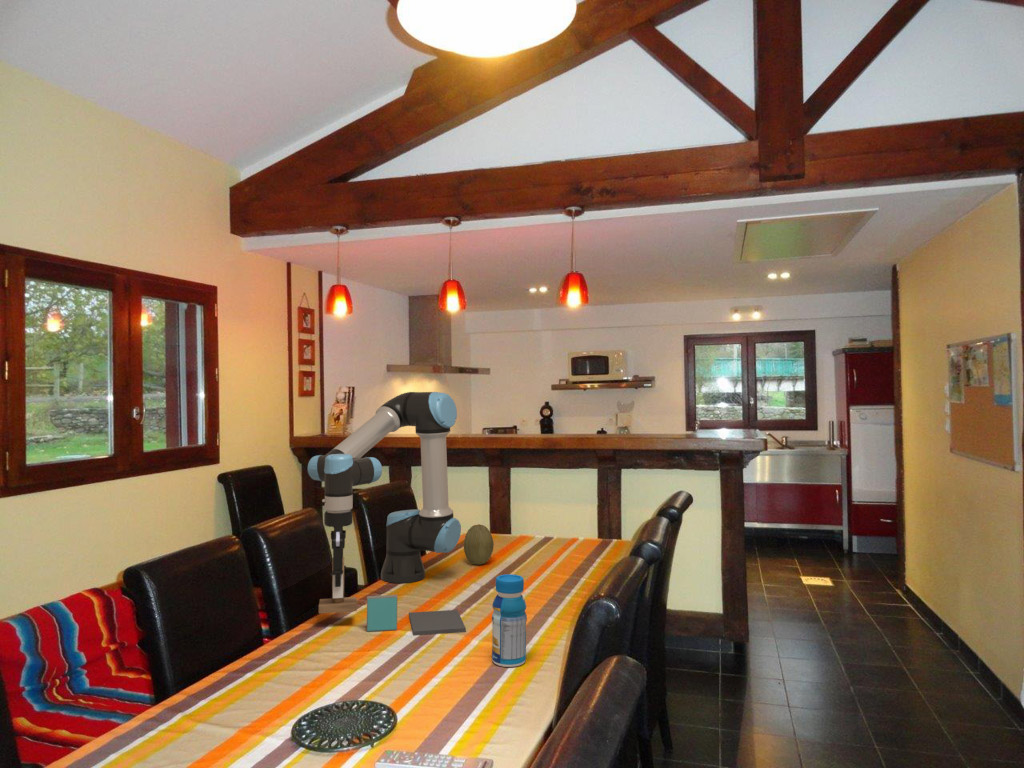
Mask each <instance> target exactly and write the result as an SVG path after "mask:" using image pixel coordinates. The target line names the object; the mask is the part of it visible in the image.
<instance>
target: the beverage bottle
mask: <svg viewBox="0 0 1024 768" xmlns="http://www.w3.org/2000/svg"><path fill="white" fill-rule="evenodd" d="M524 587H525V581H524V577H523V576H522V575H518V574H514V573H513V574H511V573H510V574H509V573H508V574H500V575H498V576H496V577H495V591H496V593H497V594H496V595H495V597H494V599H493V603H492V606H491V608H492V610H493V612H492V613H491V622H492V623H491V624H492V625H491V628H492V629H491V630H492V631H491V634H492V635H491V642H492V643H491V652H492V653H491V660H492V662H493V663H494V664H495V665H497V666H499V667H503V668H504V667H505V668H515V667H519V666H521V665H523V664H524V663H526V660H527V654H526V653H527V652H526V651H527V649H526V648H527V647H526V646H527V645H526V644H527V621H528V614H527V612H526V609H527V603H526V599H525V598H524V596H523V593H524Z"/></svg>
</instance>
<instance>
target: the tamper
mask: <svg viewBox="0 0 1024 768" xmlns="http://www.w3.org/2000/svg"><path fill="white" fill-rule="evenodd" d="M331 561H332V562H331V567H332V568H331V571H332V572H333V557H332V558H331ZM344 566H345V557H344V556H343V598H333V575H331V579H332V580H331V590H332V591H331V598H320V599H319V603H318V614H331V613H345V612H346V613H347V612H357V611H358V610H357V609H358V608H357V607H358V606H357V605H358V600H357V599H358V597H357V596H350V597H345V569H344ZM332 572H331V573H332Z"/></svg>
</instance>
